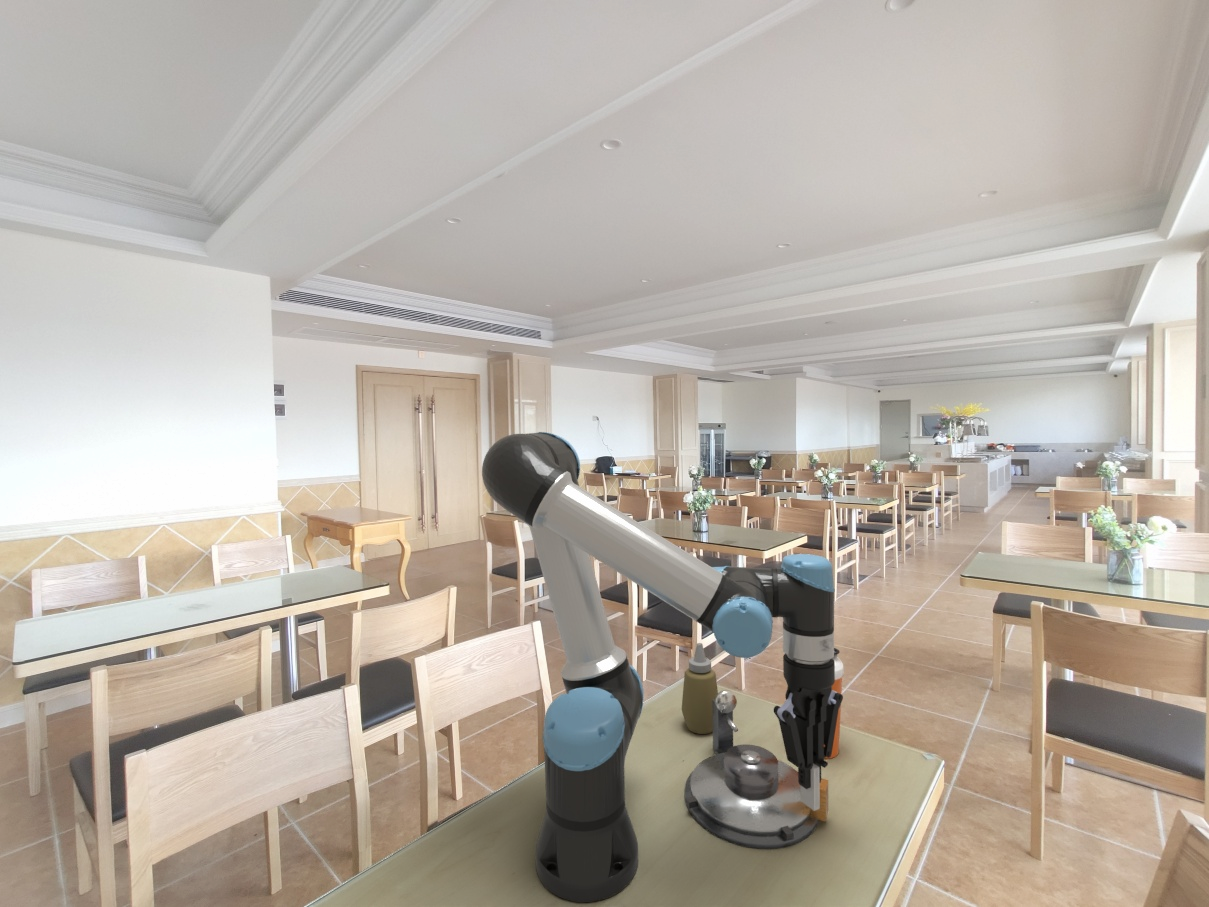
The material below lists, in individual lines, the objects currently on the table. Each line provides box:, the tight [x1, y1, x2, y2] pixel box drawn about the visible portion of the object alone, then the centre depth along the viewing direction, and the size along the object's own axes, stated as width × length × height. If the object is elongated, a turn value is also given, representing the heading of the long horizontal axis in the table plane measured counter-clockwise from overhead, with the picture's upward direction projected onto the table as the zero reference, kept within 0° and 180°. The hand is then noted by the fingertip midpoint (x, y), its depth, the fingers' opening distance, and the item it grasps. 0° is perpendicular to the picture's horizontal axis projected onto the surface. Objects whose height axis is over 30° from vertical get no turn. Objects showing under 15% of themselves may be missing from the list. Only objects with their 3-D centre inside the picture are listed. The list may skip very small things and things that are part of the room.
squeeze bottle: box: [681, 642, 719, 735], centre depth 117 cm, size 8×8×18 cm
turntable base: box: [684, 770, 820, 850], centre depth 94 cm, size 22×22×1 cm
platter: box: [685, 749, 829, 841], centre depth 94 cm, size 20×22×5 cm
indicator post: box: [712, 689, 739, 753], centre depth 106 cm, size 4×8×13 cm, turn 10°
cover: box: [724, 743, 779, 799], centre depth 95 cm, size 9×9×5 cm
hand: (810, 804), depth 87 cm, fingers closed
